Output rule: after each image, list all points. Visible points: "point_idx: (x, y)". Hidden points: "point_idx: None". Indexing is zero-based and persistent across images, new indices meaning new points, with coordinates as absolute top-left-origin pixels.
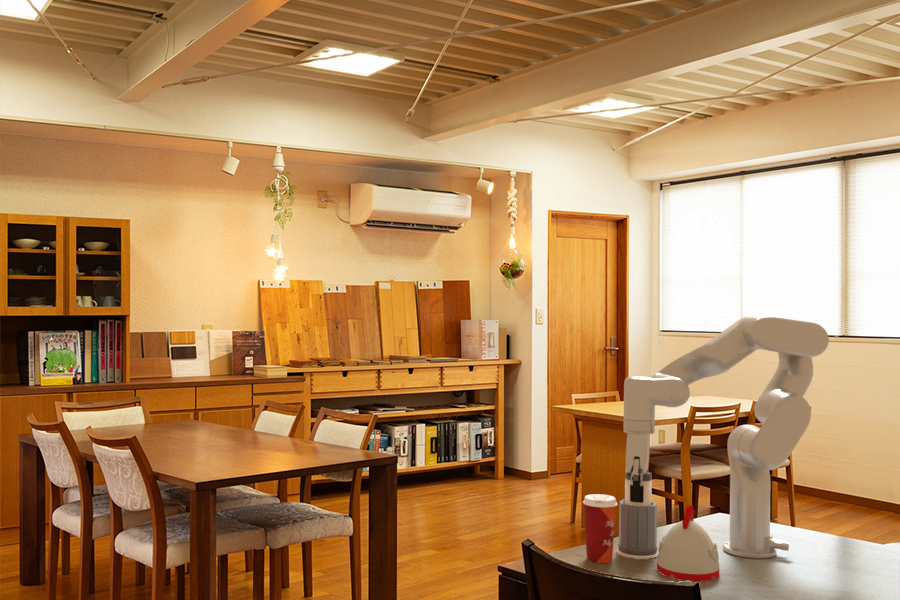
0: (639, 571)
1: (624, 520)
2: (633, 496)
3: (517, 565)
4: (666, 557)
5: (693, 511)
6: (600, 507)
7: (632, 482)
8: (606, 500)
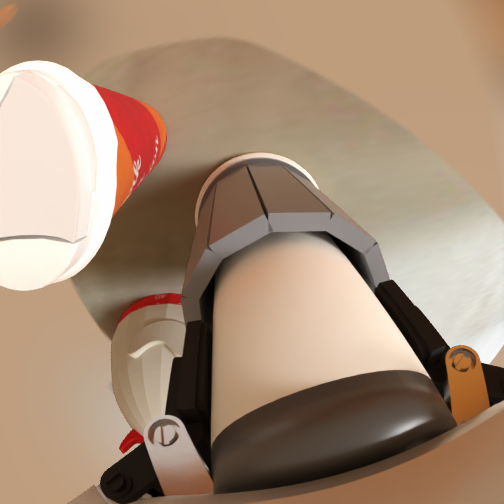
0: (106, 267)
1: (201, 231)
2: (172, 366)
3: (4, 22)
4: (113, 348)
5: None
6: None
7: (150, 448)
8: None
